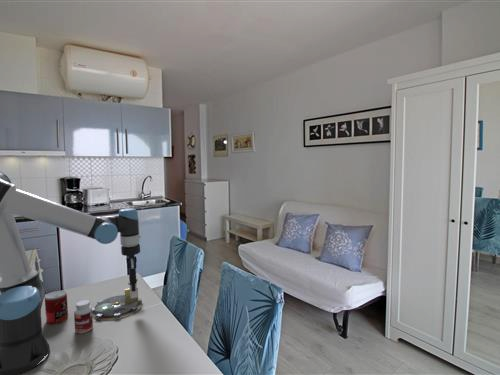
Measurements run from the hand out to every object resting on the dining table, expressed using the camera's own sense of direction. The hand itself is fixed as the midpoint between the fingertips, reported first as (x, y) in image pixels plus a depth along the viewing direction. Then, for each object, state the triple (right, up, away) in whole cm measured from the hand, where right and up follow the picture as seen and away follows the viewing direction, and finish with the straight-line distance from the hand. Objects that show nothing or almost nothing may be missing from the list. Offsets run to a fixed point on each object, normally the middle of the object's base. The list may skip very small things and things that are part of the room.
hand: (133, 297), depth 126 cm
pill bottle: (-15, -8, -12) cm, 21 cm away
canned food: (-31, -8, -4) cm, 32 cm away
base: (-10, -7, +5) cm, 13 cm away
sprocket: (-10, -7, +5) cm, 13 cm away
